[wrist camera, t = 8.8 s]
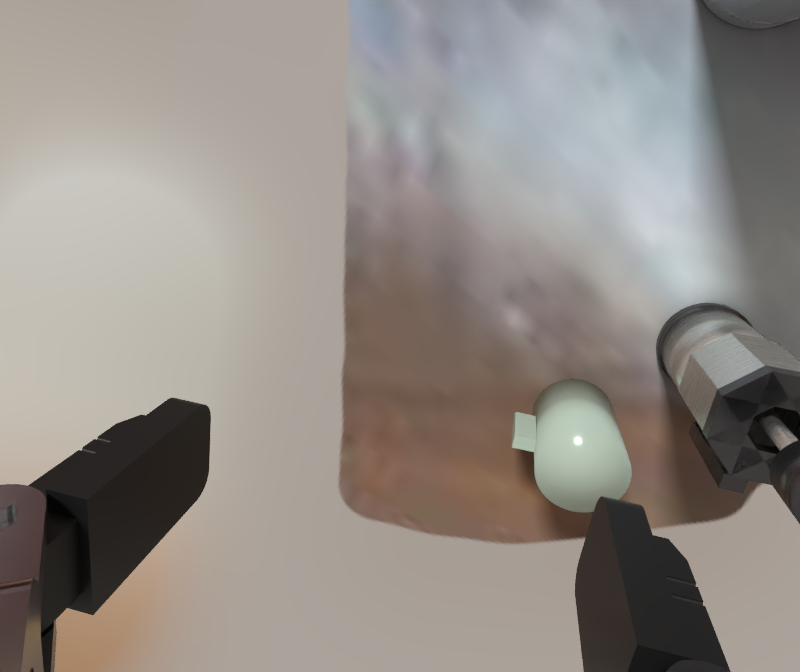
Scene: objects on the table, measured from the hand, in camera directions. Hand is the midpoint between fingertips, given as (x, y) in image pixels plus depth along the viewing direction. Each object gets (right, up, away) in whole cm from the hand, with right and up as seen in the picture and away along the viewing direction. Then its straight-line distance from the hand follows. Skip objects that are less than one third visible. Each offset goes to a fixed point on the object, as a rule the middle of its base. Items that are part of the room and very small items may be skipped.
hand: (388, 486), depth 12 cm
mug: (+15, -3, +37) cm, 40 cm away
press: (+23, +2, +33) cm, 41 cm away
